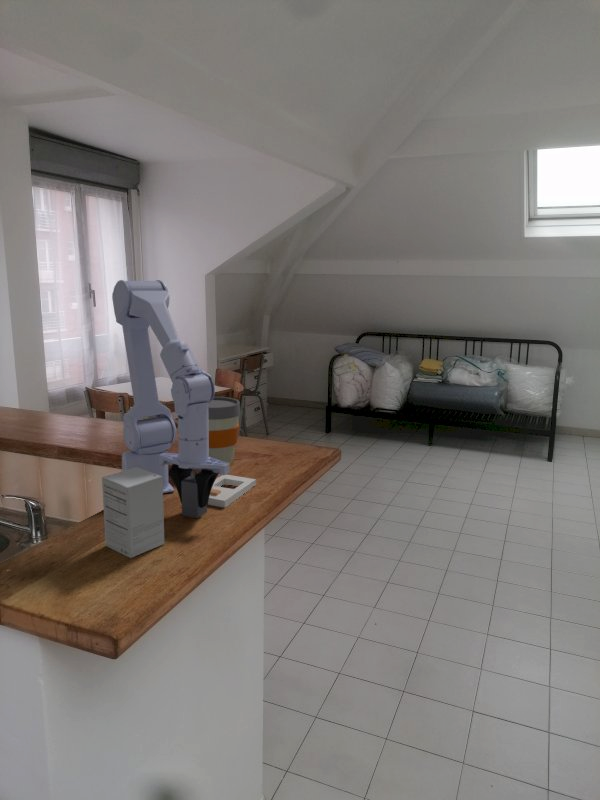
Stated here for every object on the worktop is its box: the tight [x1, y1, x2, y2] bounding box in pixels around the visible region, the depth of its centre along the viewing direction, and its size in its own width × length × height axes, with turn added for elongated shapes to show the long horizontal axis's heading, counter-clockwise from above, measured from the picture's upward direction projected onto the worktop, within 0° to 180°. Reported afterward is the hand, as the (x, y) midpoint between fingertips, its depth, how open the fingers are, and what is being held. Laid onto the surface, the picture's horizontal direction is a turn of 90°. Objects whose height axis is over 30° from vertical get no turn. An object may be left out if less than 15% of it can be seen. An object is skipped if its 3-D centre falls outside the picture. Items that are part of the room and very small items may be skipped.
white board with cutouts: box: [207, 474, 257, 509], centre depth 133 cm, size 14×8×2 cm, turn 158°
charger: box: [181, 470, 208, 519], centre depth 121 cm, size 4×4×8 cm
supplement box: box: [101, 467, 165, 559], centre depth 107 cm, size 7×7×13 cm
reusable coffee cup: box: [208, 396, 241, 463], centre depth 153 cm, size 13×13×15 cm
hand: (194, 504), depth 122 cm, fingers closed on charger, 3 cm apart
